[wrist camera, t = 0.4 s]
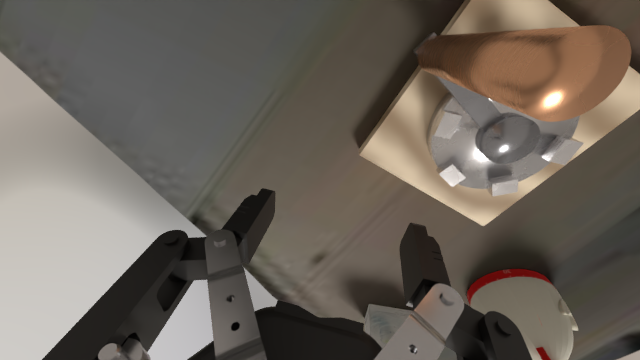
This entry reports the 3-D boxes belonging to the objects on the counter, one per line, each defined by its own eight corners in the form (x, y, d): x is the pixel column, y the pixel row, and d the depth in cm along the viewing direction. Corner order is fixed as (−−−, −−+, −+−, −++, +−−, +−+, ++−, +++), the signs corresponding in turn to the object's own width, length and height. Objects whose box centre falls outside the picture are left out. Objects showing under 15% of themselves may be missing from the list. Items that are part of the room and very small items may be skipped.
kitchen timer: (483, 320, 50) (527, 417, 37) (454, 284, 45) (493, 380, 32) (561, 301, 44) (646, 409, 31) (537, 258, 39) (624, 363, 27)
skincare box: (417, 309, 51) (430, 367, 42) (409, 325, 54) (420, 382, 45) (368, 302, 51) (371, 357, 42) (364, 318, 55) (365, 372, 46)
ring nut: (589, 124, 26) (1005, 273, 9) (468, 198, 33) (585, 362, 16) (483, -30, 21) (989, -305, 4) (364, 95, 27) (379, 180, 11)
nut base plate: (488, -33, 22) (499, -39, 21) (641, 88, 26) (662, 92, 24) (359, 149, 33) (359, 154, 32) (477, 217, 37) (483, 226, 35)
